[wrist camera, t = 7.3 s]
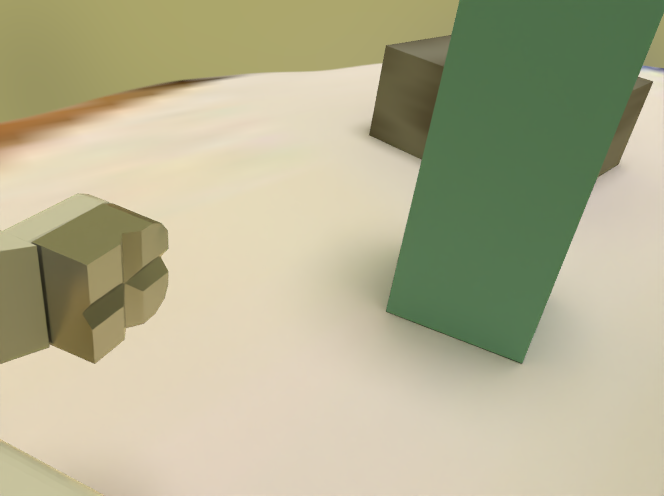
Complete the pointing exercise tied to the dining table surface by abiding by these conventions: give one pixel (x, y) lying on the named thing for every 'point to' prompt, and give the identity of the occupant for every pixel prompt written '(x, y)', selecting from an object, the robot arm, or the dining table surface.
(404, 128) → the charcoal block
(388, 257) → the dining table surface
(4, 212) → the dining table surface
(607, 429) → the dining table surface
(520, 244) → the teal pillar
